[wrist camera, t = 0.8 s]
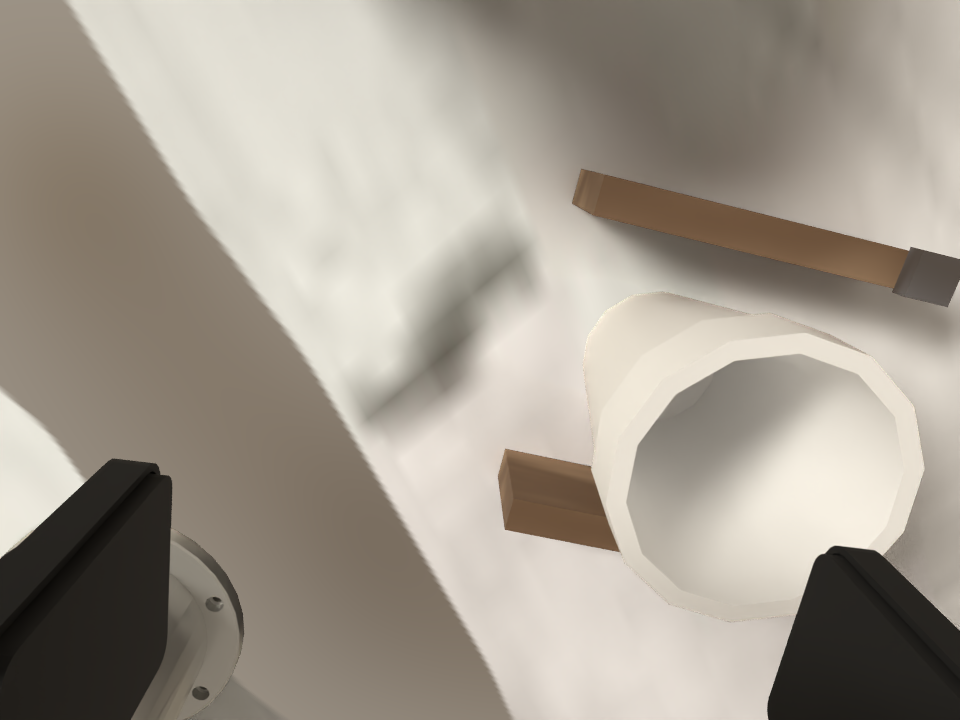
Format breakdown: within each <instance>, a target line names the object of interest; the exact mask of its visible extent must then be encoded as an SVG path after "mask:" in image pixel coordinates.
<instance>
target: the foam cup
mask: <svg viewBox="0 0 960 720" xmlns="http://www.w3.org/2000/svg"><path fill="white" fill-rule="evenodd" d="M583 373H584V380H585V387H586V394H587V401H588V408H589V415H590V423H591V430H592V437H593V444H594V456H593V462H592V467H591V471H592V474H593V477H594V480H595V483H596V486H597V489H598V492H599V495H600V499H601V502H602V505H603V508H604V511H605V514H606V517H607V520H608V523H609V526H610V528H611V531H612V533H613V536H614V538H615V541H616V543H617V546H618V548H619V551H620V553H621V556H622V558H623V561H624V563H625V564H626V565H627V566H628V567H629V568H630V569H631V570H632V571H634V572H635V573H636V574H637V575H638V576H639V577H640V578H641V579H642V580H643V581H644V582H645V583H646V584H648V585H649V586H650V587H651V588H652V589H653V590H654V591H655V592H656V593H657V594H658V595H659V596H661V597H662V598H663V599H664V600H665V601H666V602H667V603H668V604H670V605H673V606H676V607H680V608H683V609H687V610H690V611H693V612H697V613H700V614H704V615H707V616H710V617H714V618H717V619H721V620H724V621H727V622H736V621H745V620H754V619H763V618H772V617H781V616H790V615H797V612H798V609H799V606H800V603H801V600H802V597H803V593H804V590H805V587H806V584H807V581H808V578H809V575H810V572H811V569H812V566H813V563H814V561H815V559H816V558H817V557H818V556H819V555H821V554H825V553H826V552H827V551H828V549H829V548H830V547H833V546H835V545H836V546H845V547H853V548H861V549H869V550H875V551H877V552H878V553H880V554H881V555H882V556H883V555H884V553H885V552H886V551H887V550H888V549H889V548H890V547H891V546H892V545H893V543H894V542H895V541H896V540H897V539H898V538H899V537H900V536H901V535H902V533H903V532H904V530H905V527H906V524H907V521H908V518H909V515H910V512H911V509H912V506H913V503H914V500H915V497H916V494H917V491H918V488H919V485H920V482H921V479H922V476H923V473H924V470H925V468H924V462H923V456H922V450H921V444H920V438H919V432H918V426H917V420H916V414H915V408H914V405H913V404H912V403H911V402H910V401H909V399H908V398H907V397H906V396H905V395H904V394H903V392H902V391H901V390H900V389H899V388H898V386H897V385H896V384H895V383H894V382H893V381H892V379H891V378H890V377H889V376H888V375H887V374H886V372H885V371H884V370H883V369H882V368H881V366H880V365H879V364H878V363H877V362H876V361H875V359H874V358H873V357H872V356H870V355H868V354H866V353H864V352H862V351H860V350H859V349H857V348H855V347H853V346H851V345H849V344H847V343H845V342H843V341H841V340H839V339H837V338H836V337H834V336H832V335H830V334H827V333H824V332H821V331H819V330H816V329H813V328H810V327H808V326H805V325H802V324H799V323H796V322H794V321H791V320H788V319H785V318H783V317H780V316H777V315H774V314H772V313H764V314H755V315H751V314H747V313H743V312H740V311H736V310H732V309H728V308H724V307H721V306H717V305H713V304H709V303H705V302H702V301H698V300H694V299H690V298H686V297H683V296H679V295H675V294H671V293H665V292H656V293H647V294H638V295H632V296H630V297H628V298H626V299H625V300H623V301H621V302H620V303H618V304H616V305H615V306H613V307H611V308H610V309H608V310H606V311H605V312H604V314H603V315H602V316H601V318H600V319H599V321H598V322H597V324H596V325H595V326H594V328H593V329H592V331H591V332H590V334H589V335H588V337H587V343H586V349H585V355H584V360H583Z"/></svg>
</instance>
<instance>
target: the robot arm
mask: <svg viewBox="0 0 960 720" xmlns="http://www.w3.org/2000/svg"><path fill="white" fill-rule="evenodd" d="M171 508H172V480H171V478H170V476H166V475H160V471H159V467H158V466H157V464H154V463H146V462H138V461H130V460H121V459H111V460H110V461H108V462H107V463H106V464H105V465H104V466H103V467H101V469H99V470H98V471H97V472H96V473H95V474H94V475H93V476H92V477H91V478H90V479H89V480H88V481H86V482H85V483H84V484H83V485H82V486H81V487H80V488H79V489H78V490H77V491H76V492H75V493H74V494H73V495H71V496H70V497H69V498H68V499H67V500H66V501H65V502H64V503H63V504H62V505H61V506H60V507H59V508H58V509H56V510H55V511H54V512H53V513H52V514H51V515H50V516H49V517H48V518H47V519H46V520H45V521H44V522H43V523H42V524H40V525H39V526H38V527H37V528H36V529H35V530H33V531H31V532H30V533H28V534H27V535H26V536H25V537H24V538H22V539H21V540H20V541H19V542H17V543H16V544H15V545H14V546H13V547H12V548H11V549H10V550H9V551H8V552H7V553H6V554H5V555H4V556H3V557H1V559H0V720H185V719H188V718H190V717H192V716H194V715H195V714H197V713H198V712H199V711H201V710H202V709H204V708H205V707H206V706H208V705H209V704H210V703H211V702H212V701H213V700H214V699H215V698H216V697H217V696H218V695H219V693H220V692H221V691H222V690H223V689H224V687H225V686H226V684H227V682H228V680H229V679H230V677H231V675H232V673H233V671H234V669H235V666H236V663H237V661H238V658H239V656H240V653H241V649H242V642H243V637H244V625H243V613H242V609H241V606H240V602H239V599H238V595H237V593H236V591H235V589H234V587H233V585H232V584H231V582H230V580H229V578H228V576H227V574H226V573H225V572H224V571H223V570H222V569H221V567H220V566H219V565H218V563H217V562H216V561H215V560H214V559H213V557H212V556H211V555H209V554H208V553H207V552H206V551H205V550H204V549H202V548H201V547H200V546H199V545H198V544H197V543H196V542H194V541H193V540H191V539H189V538H188V537H186V536H184V535H183V534H181V533H179V532H178V531H176V530H175V529H173V528H171V510H172V509H171ZM767 712H768V719H769V720H960V631H959V630H958V629H957V628H956V627H955V626H954V625H953V624H952V623H951V622H950V621H949V620H948V619H947V618H946V617H945V616H944V615H943V614H942V613H941V612H940V611H939V610H938V609H937V608H936V607H935V606H934V605H933V604H932V603H931V602H930V601H928V600H927V599H926V598H925V597H924V596H923V595H922V594H921V593H920V592H919V591H918V590H917V589H916V588H915V587H914V586H913V585H912V584H911V583H910V582H909V581H908V580H907V579H906V578H905V577H904V576H903V575H902V574H901V573H900V572H898V571H897V570H896V569H895V568H894V567H893V566H892V565H891V564H890V563H889V562H888V561H887V560H886V559H885V558H884V557H883V556H882V555H881V554H880V553H878V552H877V551H875V550H869V549H861V548H853V547H845V546H836V545H835V546H833V547H830V548H829V549H828V551H827V552H826V553H825V554H821V555H819V556H818V557H817V558H816V559H815V561H814V563H813V566H812V569H811V572H810V575H809V578H808V581H807V584H806V587H805V590H804V593H803V597H802V600H801V603H800V606H799V609H798V612H797V615H796V618H795V621H794V624H793V627H792V630H791V633H790V636H789V639H788V642H787V645H786V648H785V651H784V654H783V657H782V660H781V663H780V666H779V669H778V672H777V675H776V678H775V681H774V684H773V687H772V690H771V693H770V696H769V700H768V707H767Z"/></svg>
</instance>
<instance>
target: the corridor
mask: <svg viewBox="0 0 960 720" xmlns="http://www.w3.org/2000/svg"><path fill="white" fill-rule="evenodd" d="M572 204H574V205H576V206H578V207H579V208H581V209H583V210H585V211H587V212H588V213H590V214H592V215H595V216H599V217H603V218H607V219H611V220H615V221H619V222H623V223H627V224H631V225H636V226H640V227H644V228H648V229H652V230H656V231H660V232H664V233H668V234H672V235H676V236H681V237H685V238H689V239H693V240H697V241H701V242H705V243H709V244H713V245H717V246H721V247H726V248H730V249H734V250H738V251H742V252H746V253H750V254H754V255H758V256H762V257H767V258H771V259H775V260H779V261H783V262H787V263H791V264H795V265H799V266H803V267H807V268H812V269H816V270H820V271H824V272H828V273H832V274H836V275H840V276H844V277H848V278H853V279H857V280H861V281H865V282H869V283H873V284H877V285H881V286H885V287H889V288H893V291H892V292H893V293H896V294H899V295H901V296H904V297H908V298H912V299H916V300H920V301H925V302H929V303H933V304H937V305H941V306H945V307H948V305H949V303H950V301H951V298H952V296H953V294H954V291H955V289H956V287H957V285H958V282H959V280H960V259H957V258H953V257H949V256H945V255H941V254H937V253H933V252H929V251H925V250H921V249H917V248H912V247H911V248H910V250H909V251H908V250H904V249H900V248H896V247H892V246H888V245H884V244H880V243H876V242H872V241H868V240H864V239H860V238H856V237H852V236H848V235H844V234H840V233H836V232H832V231H828V230H824V229H820V228H816V227H812V226H808V225H804V224H800V223H796V222H792V221H788V220H784V219H780V218H776V217H772V216H768V215H764V214H760V213H756V212H752V211H748V210H744V209H740V208H736V207H732V206H728V205H724V204H720V203H716V202H712V201H708V200H704V199H700V198H696V197H692V196H688V195H684V194H680V193H676V192H672V191H668V190H664V189H660V188H656V187H652V186H648V185H644V184H640V183H636V182H632V181H628V180H624V179H620V178H616V177H612V176H608V175H604V174H600V173H596V172H592V171H588V170H584V169H581V172H580V176H579V180H578V183H577V187H576V191H575V194H574V198H573V202H572ZM498 480H499V488H500V496H501V503H502V511H503V519H504V527H505V530H509V531H514V532H519V533H525V534H530V535H535V536H540V537H545V538H550V539H555V540H561V541H566V542H571V543H576V544H581V545H586V546H591V547H597V548H602V549H607V550H612V551H617V552H620V551H619V548H618V546H617V543H616V541H615V538H614V536H613V533H612V531H611V528H610V526H609V523H608V520H607V517H606V514H605V511H604V508H603V505H602V502H601V499H600V495H599V492H598V489H597V486H596V483H595V480H594V477H593V474H592V471H591V467H590V466H586V465H581V464H576V463H571V462H566V461H561V460H557V459H552V458H547V457H542V456H537V455H532V454H528V453H523V452H518V451H513V450H508V449H505V452H504V456H503V460H502V463H501V467H500V471H499V474H498Z"/></svg>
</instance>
